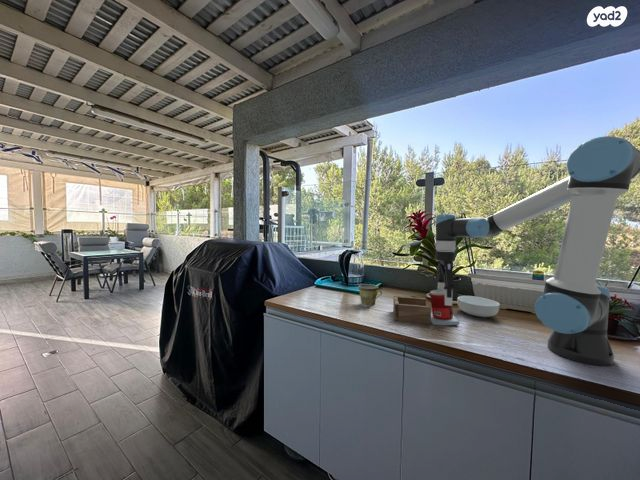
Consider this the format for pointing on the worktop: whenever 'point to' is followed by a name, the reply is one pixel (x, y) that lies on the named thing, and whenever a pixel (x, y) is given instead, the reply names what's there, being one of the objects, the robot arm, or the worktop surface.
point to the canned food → (440, 305)
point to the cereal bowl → (478, 306)
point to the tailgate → (444, 321)
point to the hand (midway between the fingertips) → (444, 300)
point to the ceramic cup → (368, 294)
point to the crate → (411, 310)
